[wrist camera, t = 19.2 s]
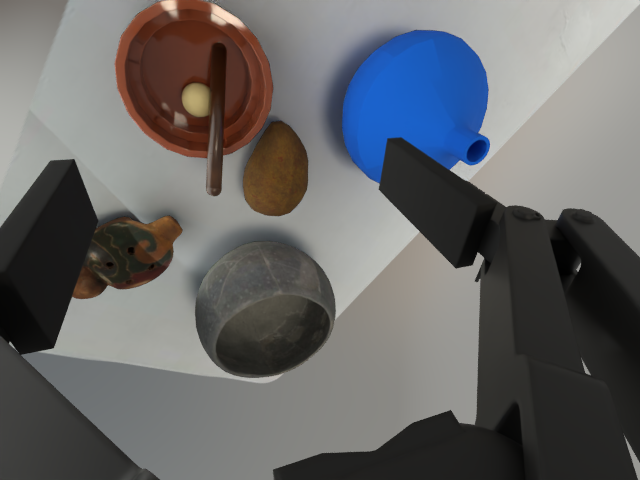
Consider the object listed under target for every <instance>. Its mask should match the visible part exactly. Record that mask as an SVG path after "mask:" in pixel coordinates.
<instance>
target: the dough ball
mask: <svg viewBox="0 0 640 480" xmlns="http://www.w3.org/2000/svg"><path fill="white" fill-rule="evenodd" d="M182 103H183V106H184V108H185V109H186V110H187V111H188V112H189V113H190V114H191V115H193V116H196V117H205V116H208V115H209V104H210V88H209V87H208V86H206V85H205V84H202V83H191V84H189V85H187V86H186V87H185V88H184V90H183V92H182Z"/></svg>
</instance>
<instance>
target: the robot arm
mask: <svg viewBox="0 0 640 480" xmlns="http://www.w3.org/2000/svg"><path fill="white" fill-rule="evenodd" d="M379 190H380V191H381V192H382V193H383V194H384V195H385V196H386V197H387V198H388V200H389V201H390V202H391V203H392V204H393V205H394V206H395V207H396V208H397V209H398V210H399V211H400V212H401V213H402V214H403V215H404V216H405V217H406V218H407V219H408V220H409V221H410V222H411V223H412V224H413V225H414V226H415V227H416V228H417V229H418V230H419V231H420V232H421V233H422V234H423V235H424V236H425V237H426V238H427V239H428V240H429V241H430V242H431V243H432V244H433V246H434V247H435V248H436V249H437V250H438V251H440V253H441V254H442V255H443V256H444V257H445V258H446V259H447V260H448V261H449V262H450V263H451V264H452V265H453V266H454V267H455V268H460V267H466V266H471V265H473V263H474V260H475V257H476V255H477V252H478V253H480V254H481V255H482V256H483V257H484V260H483V263H482V265H481V268H480V270H479V272H478V275H477V277H476V280H475V281H476V282H478V281H479V279H480V278H481V283H480V317H479V352H478V355H479V356H478V387H477V415H476V416H477V417H476V422H475V425H471V424H463V423H459V422H458V421H457V419H456V418H455V416H454V415H453V413H452V411H451V410H450V411H447V412H444V413H441V414H438V415H435V416H432V417H429V418H426V419H423V420H420V421H417V422H414V423H412V424H410V425H409V426H408V427H406V428H405V429H404V430H403V431H401V432H400V433H399V434H397V435H396V436H394V437H393V438H392V439H390V440H389V441H388V442H386V443H385V444H384V445H383V446H381V447H380V448H378V449H377V450H375V451H370V452H345V453H322V454H319V455H316V456H313V457H310V458H307V459H304V460H301V461H298V462H295V463H292V464H289V465H286V466H283V467H280V468H277V469H274V470H273V475H274V480H638V478H637V475H636V472H635V469H634V466H633V463H632V459H631V456H630V453H629V450H628V447H627V444H626V440H625V437H626V439H627V441H628V442H629V444H630V446H631V447H632V450H633V451H634V453H635V455H636V457H637V458H638V460H639V462H640V257H639V256H638V255H637V254H636V253H635V252H634V251H633V250H632V249H631V248H630V247H629V246H628V245H627V244H626V243H625V242H624V241H623V240H622V239H621V238H620V237H619V236H618V235H617V234H616V233H615V232H614V231H613V230H612V229H611V228H610V227H609V226H608V225H607V224H606V223H605V222H604V221H603V220H602V219H600V218H599V217H598V216H596V215H594V214H592V213H591V212H589V211H585V210H582V209H580V210H579V209H564V210H563V211H562V213H561V215H560V217H559V219H558V220H545V219H544V217H543V216H542V215H541V214H540V213H538V212H537V211H534V210H532V209H530V208H526V207H523V206H508V207H505V206H504V205H502V204H501V203H499V202H498V201H496V200H495V199H493V198H492V197H491V196H489V195H487V194H485V192H483V191H482V190H480V189H478V188H477V187H476V186H474V185H473V184H471V183H470V182H468V181H465V180H463V179H462V178H460V177H459V176H457V175H456V174H454V173H453V172H451V171H450V170H449V169H447V168H446V167H444V166H443V165H441V164H440V163H438V162H437V161H435V160H434V159H432V158H431V157H429V156H428V155H427V154H425V153H424V152H422V151H421V150H419V149H418V148H416V147H415V146H413V145H412V144H410V143H409V142H407V141H406V140H404V139H403V138H402V137H399V138H387V143H386V149H385V155H384V161H383V167H382V173H381V180H380V186H379ZM97 224H98V219H97V217H96V214H95V211H94V209H93V206H92V204H91V201H90V198H89V196H88V193H87V191H86V188H85V186H84V183H83V180H82V178H81V175H80V173H79V170H78V167H77V165H76V162H75V160H74V159H69V160H54V161H50V162H49V163H48V165H47V166H46V167H45V169H44V170H43V171H42V173H41V174H40V175H39V177H38V178H37V179H36V181H35V182H34V183H33V185H32V186H31V187H30V189H29V190H28V191H27V193H26V194H25V195H24V197H23V198H22V199H21V201H20V202H19V203H18V205H17V206H16V207H15V209H14V210H13V211H12V213H11V214H10V215H9V217H8V218H7V219H6V221H5V222H4V223H3V225H2V226H1V227H0V480H160V479H158V478H157V477H156V476H155V475H154V474H152V473H151V472H150V471H148V470H147V469H141V468H140V467H138V466H137V465H136V464H135V463H134V462H133V461H132V460H131V459H130V458H129V457H128V456H127V455H125V454H124V453H123V452H122V451H121V450H120V449H119V448H118V447H117V446H116V445H115V444H114V443H113V442H112V441H111V440H110V439H109V438H107V437H106V436H105V435H104V434H103V433H102V432H101V431H100V430H99V429H98V428H97V427H96V426H95V425H94V424H93V423H92V422H91V421H89V420H88V419H87V418H86V417H85V416H84V415H83V414H82V413H81V412H80V411H79V410H78V409H77V408H76V407H75V406H74V405H73V404H72V403H70V402H69V401H68V400H67V399H66V398H65V397H64V396H63V395H62V394H61V393H60V392H59V391H58V390H57V389H56V388H54V386H53V385H52V384H51V383H49V382H48V381H47V380H46V379H45V378H44V377H43V376H42V375H41V374H40V373H39V372H38V371H37V370H36V369H35V368H34V367H32V365H31V364H29V363H28V362H27V361H26V360H25V359H24V358H23V357H22V356H21V355H22V354H27V353H32V352H37V351H42V350H47V349H52V348H54V346H55V343H56V340H57V337H58V335H59V332H60V329H61V326H62V323H63V320H64V318H65V315H66V312H67V309H68V306H69V303H70V300H71V298H72V295H73V292H74V289H75V286H76V283H77V281H78V278H79V275H80V272H81V269H82V266H83V263H84V261H85V258H86V255H87V252H88V249H89V246H90V244H91V241H92V238H93V235H94V232H95V229H96V226H97ZM580 263H581V267H580V270H579V272H577V270H576V269H577V268H578V266H579V264H580ZM9 342H11V343H12V344H13V346H14V347H15V348H16V350H17V351H18V352H19V353H18V352H17V351H16V350H15V349H14V348H13V347H12V346H10V345H9ZM581 358H582V359H581ZM582 360H583V361H584V363H585V365H586V367H587V369H588V370H589V372H590V374H591V375H588V374H586V373H585V371H584V367H583V363H582ZM623 433H624V434H623ZM624 435H625V437H624Z"/></svg>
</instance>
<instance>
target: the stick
mask: <svg viewBox="0 0 640 480" xmlns="http://www.w3.org/2000/svg"><path fill="white" fill-rule="evenodd" d="M226 64H227V49H226V47H225V45H224V44H222V43H220V42H216V43H214V44H213V46H212V52H211V78H210V104H209V129H208V155H207V180H206V191H207V193H208V194H209V195H211V196H218V195H219V194H220V193H221V190H222V165H223V140H224V114H225V89H226Z"/></svg>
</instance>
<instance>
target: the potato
mask: <svg viewBox="0 0 640 480" xmlns="http://www.w3.org/2000/svg"><path fill="white" fill-rule="evenodd" d="M307 185H308V158H307V153H306V150H305V148H304V146H303V144H302V142H301V140H300V138H299V137H298V136H297V134H296V133H295V132H294V131H293V129H292V128H291V127H290V126H289V125H287V124H285V123H284V122H282V121H276V122H271V123H270V125H269V126H268V128H267V129H266V130H265V132H264V134H263V135H262V137H261V139H260V141H259V142H258V144H257V146H256V147H255V149H254V151H253V153H252V155H251V157H250V159H249V161H248V162H247V165H246V168H245V171H244V177H243V189H244V195H245V200H246V201H247V203H248V204H249V206H250V207H251V208H252V209H253V210H254V211H256V212H259V213H261V214H264V215H268V216H282V215H285V214H288V213H290V212H291V211H292V210H293V209H294V208H295V207H296V206H297V205H298V204H299V203H300V201H301V200H302V198H303V196H304V194H305V192H306V191H307Z"/></svg>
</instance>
